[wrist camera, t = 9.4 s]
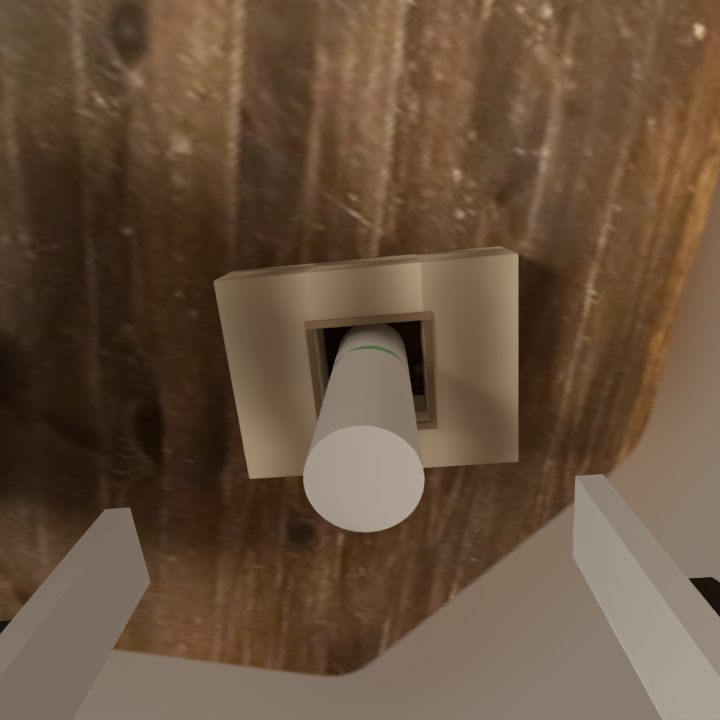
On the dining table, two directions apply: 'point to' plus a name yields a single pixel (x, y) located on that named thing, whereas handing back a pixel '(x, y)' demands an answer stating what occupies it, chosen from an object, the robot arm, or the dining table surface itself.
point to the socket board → (375, 306)
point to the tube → (366, 436)
